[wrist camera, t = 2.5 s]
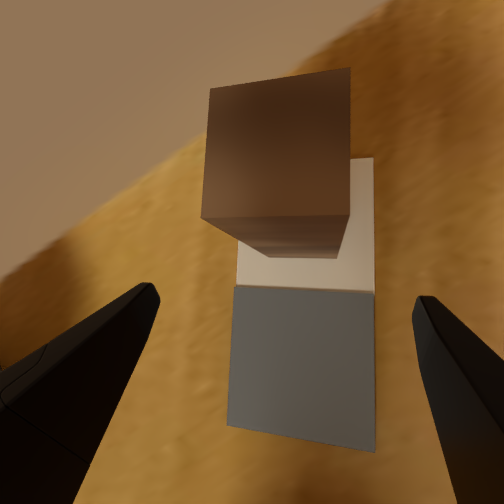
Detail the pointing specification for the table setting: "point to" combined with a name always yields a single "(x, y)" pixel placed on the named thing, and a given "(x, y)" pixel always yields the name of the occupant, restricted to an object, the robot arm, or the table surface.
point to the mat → (304, 365)
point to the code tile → (316, 269)
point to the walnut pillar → (281, 164)
